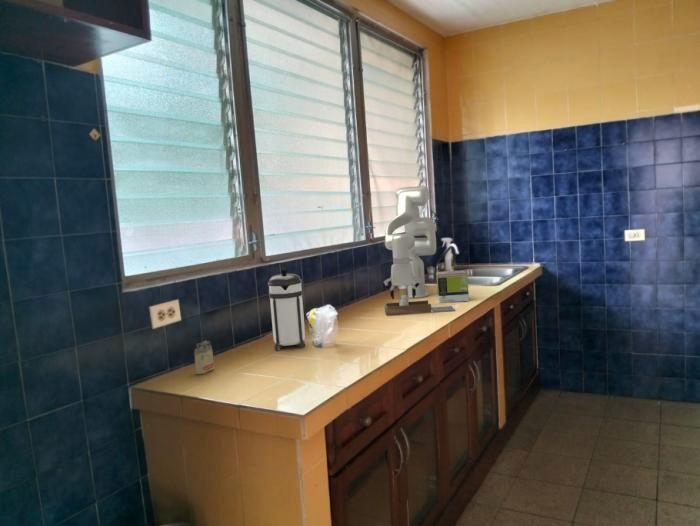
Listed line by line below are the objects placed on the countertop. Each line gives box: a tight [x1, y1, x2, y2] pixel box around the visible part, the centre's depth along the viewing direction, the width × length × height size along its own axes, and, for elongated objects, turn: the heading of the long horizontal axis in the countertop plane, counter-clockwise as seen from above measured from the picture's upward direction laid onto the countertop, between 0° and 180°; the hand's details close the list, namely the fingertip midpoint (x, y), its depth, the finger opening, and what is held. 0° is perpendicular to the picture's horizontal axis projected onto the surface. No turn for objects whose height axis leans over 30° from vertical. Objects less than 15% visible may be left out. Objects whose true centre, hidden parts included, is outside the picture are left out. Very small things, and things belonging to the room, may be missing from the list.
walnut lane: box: [383, 300, 432, 317], centre depth 258 cm, size 10×21×4 cm, turn 90°
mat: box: [431, 305, 456, 313], centre depth 258 cm, size 10×10×1 cm
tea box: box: [435, 269, 470, 304], centre depth 279 cm, size 15×10×15 cm
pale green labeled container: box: [194, 339, 215, 375], centre depth 183 cm, size 7×4×10 cm, turn 153°
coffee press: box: [267, 267, 306, 351], centre depth 209 cm, size 17×16×30 cm
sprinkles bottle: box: [397, 285, 409, 306], centre depth 258 cm, size 5×5×14 cm
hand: (403, 298), depth 257 cm, fingers open, 9 cm apart
